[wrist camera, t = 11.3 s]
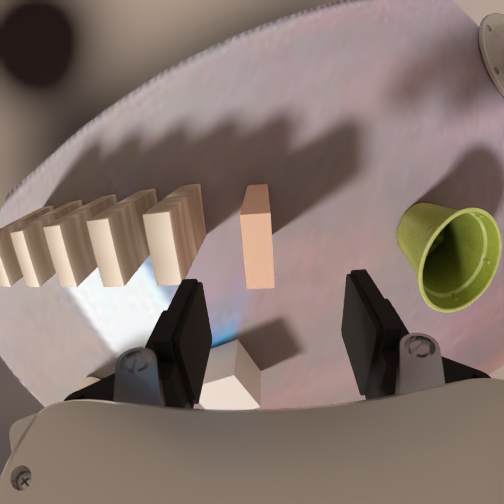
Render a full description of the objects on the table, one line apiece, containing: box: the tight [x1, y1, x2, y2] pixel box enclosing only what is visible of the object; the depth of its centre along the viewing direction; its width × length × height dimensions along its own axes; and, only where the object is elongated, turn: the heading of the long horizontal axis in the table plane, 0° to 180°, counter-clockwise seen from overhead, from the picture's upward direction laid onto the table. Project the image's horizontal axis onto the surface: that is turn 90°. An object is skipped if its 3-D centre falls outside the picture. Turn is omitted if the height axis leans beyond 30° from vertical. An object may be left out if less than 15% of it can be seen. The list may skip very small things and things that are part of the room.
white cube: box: [199, 339, 261, 410], centre depth 33 cm, size 6×6×6 cm
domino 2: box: [10, 200, 83, 287], centre depth 24 cm, size 2×5×10 cm, turn 4°
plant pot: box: [397, 203, 502, 312], centre depth 24 cm, size 9×9×9 cm
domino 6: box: [240, 184, 275, 289], centre depth 23 cm, size 2×5×10 cm, turn 4°
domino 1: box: [0, 205, 54, 287], centre depth 24 cm, size 2×5×10 cm, turn 4°
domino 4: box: [87, 188, 158, 287], centre depth 24 cm, size 2×5×10 cm, turn 4°
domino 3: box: [43, 194, 118, 287], centre depth 24 cm, size 2×5×10 cm, turn 4°
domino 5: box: [143, 183, 207, 286], centre depth 23 cm, size 2×5×10 cm, turn 4°
